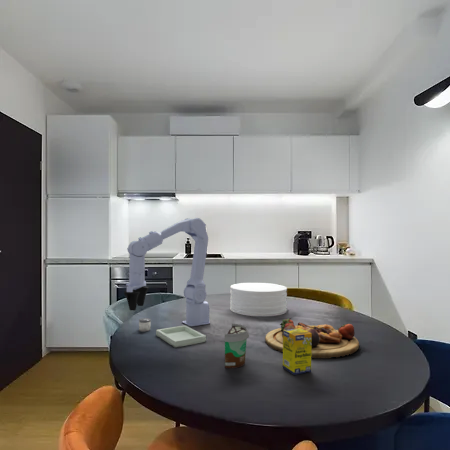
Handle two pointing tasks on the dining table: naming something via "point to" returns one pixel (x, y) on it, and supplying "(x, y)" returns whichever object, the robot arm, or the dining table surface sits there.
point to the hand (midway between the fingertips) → (136, 307)
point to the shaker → (144, 324)
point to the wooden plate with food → (319, 339)
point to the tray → (180, 336)
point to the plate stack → (258, 299)
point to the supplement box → (297, 351)
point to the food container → (235, 346)
